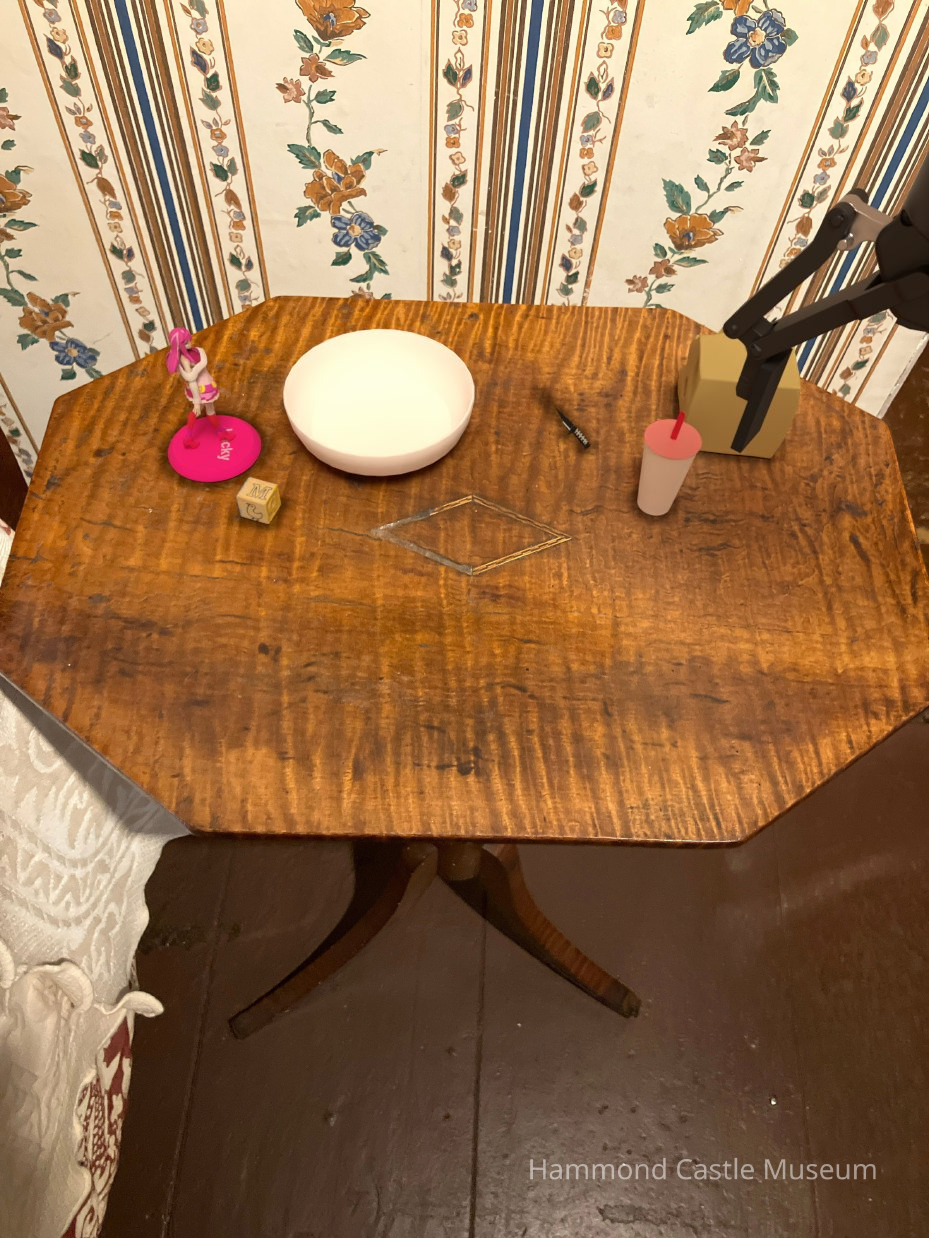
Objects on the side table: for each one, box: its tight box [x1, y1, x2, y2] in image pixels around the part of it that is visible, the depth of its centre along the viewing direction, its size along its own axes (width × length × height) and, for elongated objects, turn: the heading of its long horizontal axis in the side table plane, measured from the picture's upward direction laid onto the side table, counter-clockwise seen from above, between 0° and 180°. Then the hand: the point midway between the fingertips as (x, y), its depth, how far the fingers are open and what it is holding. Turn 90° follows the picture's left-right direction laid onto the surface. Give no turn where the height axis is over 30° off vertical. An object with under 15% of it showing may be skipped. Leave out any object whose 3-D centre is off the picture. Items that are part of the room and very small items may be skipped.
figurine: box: [165, 326, 262, 483], centre depth 86 cm, size 10×10×15 cm
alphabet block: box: [235, 476, 282, 525], centre depth 86 cm, size 3×3×3 cm
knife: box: [555, 407, 591, 451], centre depth 96 cm, size 10×2×1 cm, turn 27°
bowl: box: [282, 328, 476, 477], centre depth 92 cm, size 20×20×6 cm
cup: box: [636, 410, 702, 516], centre depth 85 cm, size 5×5×12 cm
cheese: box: [677, 326, 802, 459], centre depth 92 cm, size 10×11×10 cm
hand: (842, 489), depth 55 cm, fingers open, 13 cm apart
